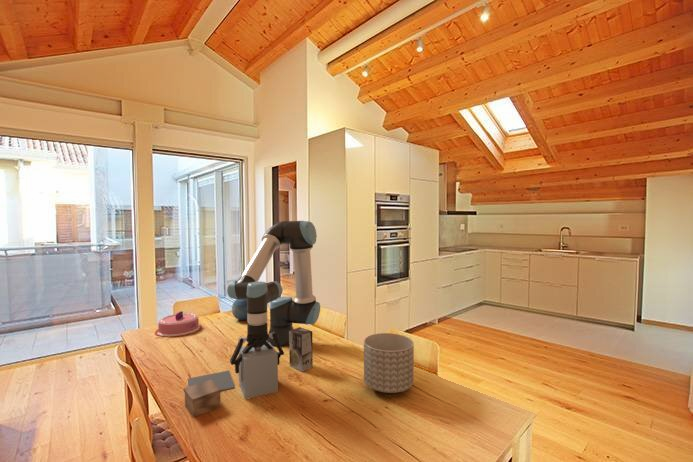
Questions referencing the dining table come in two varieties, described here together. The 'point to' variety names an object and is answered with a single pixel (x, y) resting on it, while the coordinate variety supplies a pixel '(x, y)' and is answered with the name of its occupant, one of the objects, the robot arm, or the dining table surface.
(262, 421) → the dining table surface
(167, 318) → the cake
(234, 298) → the robot arm
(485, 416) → the dining table surface
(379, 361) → the planter
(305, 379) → the dining table surface
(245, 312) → the decorative ball
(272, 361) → the cover
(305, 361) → the coffee box
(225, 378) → the mat
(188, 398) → the box
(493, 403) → the dining table surface
